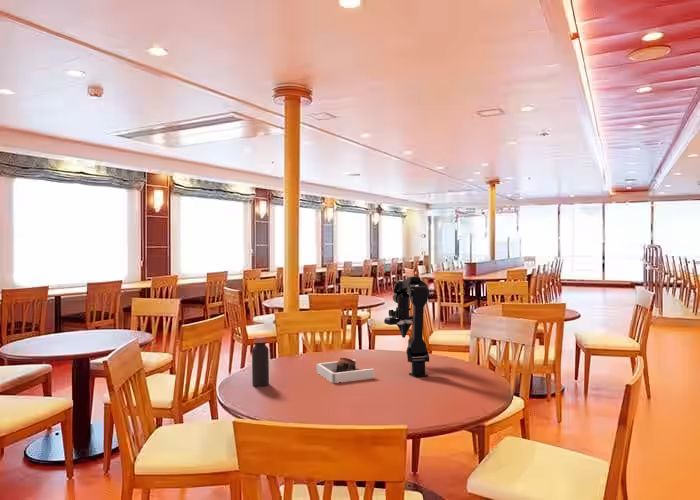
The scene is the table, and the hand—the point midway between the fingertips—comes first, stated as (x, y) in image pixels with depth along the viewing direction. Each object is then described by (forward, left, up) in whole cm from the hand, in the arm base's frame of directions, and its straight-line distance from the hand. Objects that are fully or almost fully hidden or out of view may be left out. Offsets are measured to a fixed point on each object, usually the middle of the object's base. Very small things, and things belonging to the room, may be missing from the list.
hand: (403, 337), depth 244 cm
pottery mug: (-8, +34, -13) cm, 37 cm away
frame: (-9, +35, -12) cm, 39 cm away
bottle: (-8, +73, -13) cm, 74 cm away
